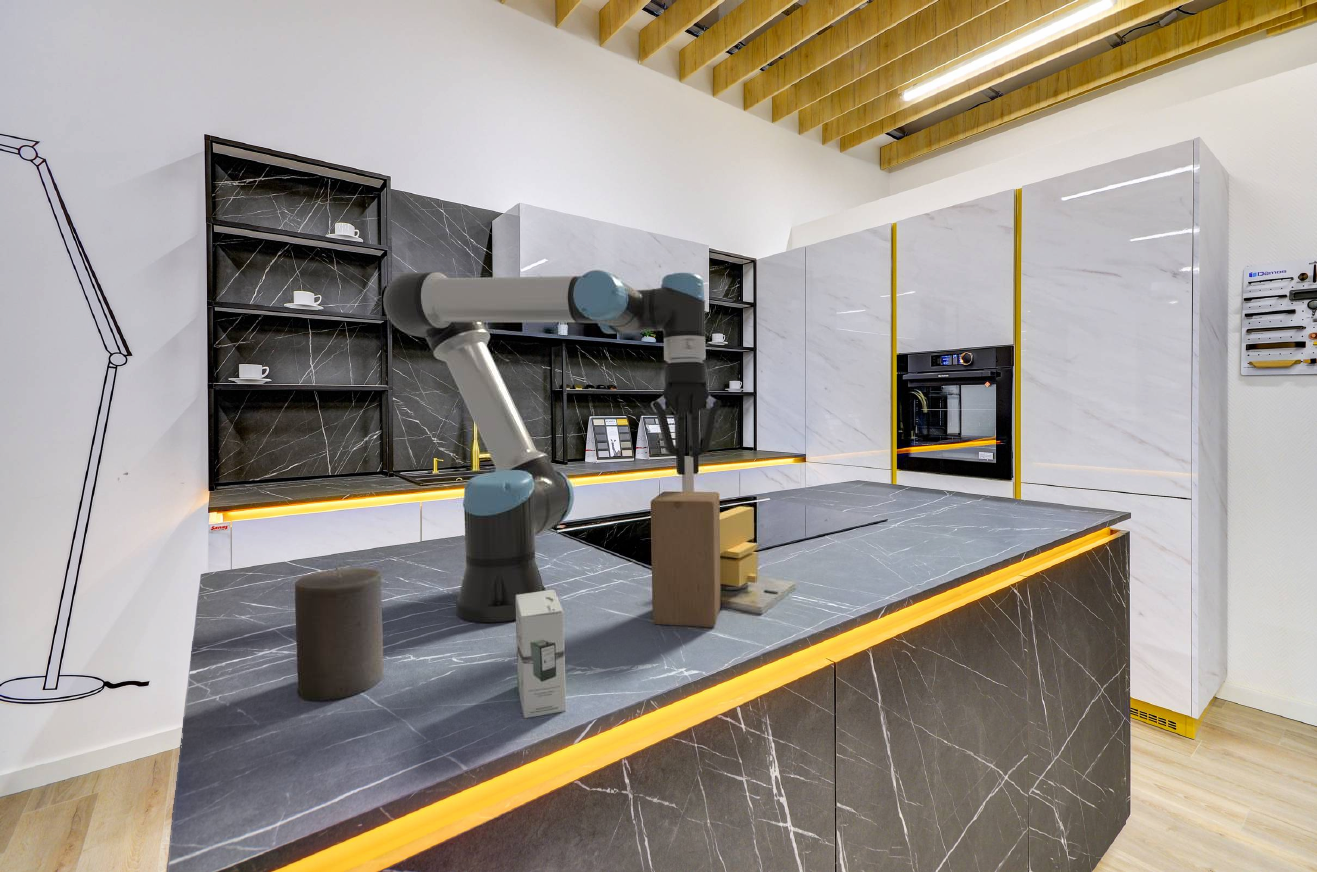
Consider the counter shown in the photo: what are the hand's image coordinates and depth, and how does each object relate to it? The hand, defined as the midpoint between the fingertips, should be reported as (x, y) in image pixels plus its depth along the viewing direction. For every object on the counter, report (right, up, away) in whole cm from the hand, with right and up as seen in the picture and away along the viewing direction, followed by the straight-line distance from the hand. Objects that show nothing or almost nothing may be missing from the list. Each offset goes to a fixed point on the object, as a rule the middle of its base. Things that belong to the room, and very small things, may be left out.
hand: (688, 492), depth 105 cm
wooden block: (-1, -20, -9) cm, 22 cm away
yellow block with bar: (+8, -16, +3) cm, 18 cm away
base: (+8, -19, +3) cm, 21 cm away
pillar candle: (-46, -21, -31) cm, 59 cm away
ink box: (-19, -21, -36) cm, 46 cm away
